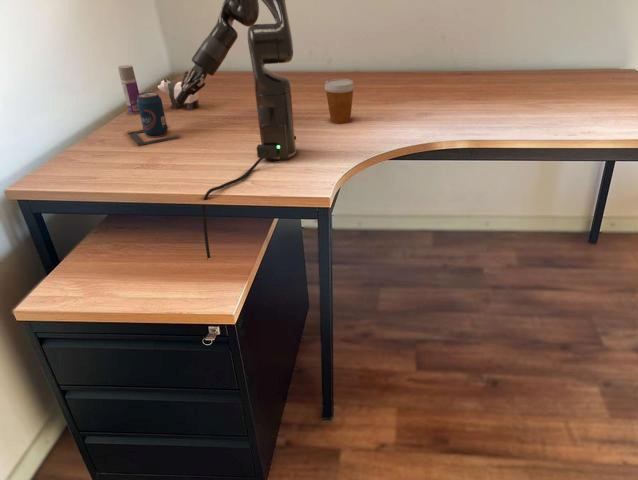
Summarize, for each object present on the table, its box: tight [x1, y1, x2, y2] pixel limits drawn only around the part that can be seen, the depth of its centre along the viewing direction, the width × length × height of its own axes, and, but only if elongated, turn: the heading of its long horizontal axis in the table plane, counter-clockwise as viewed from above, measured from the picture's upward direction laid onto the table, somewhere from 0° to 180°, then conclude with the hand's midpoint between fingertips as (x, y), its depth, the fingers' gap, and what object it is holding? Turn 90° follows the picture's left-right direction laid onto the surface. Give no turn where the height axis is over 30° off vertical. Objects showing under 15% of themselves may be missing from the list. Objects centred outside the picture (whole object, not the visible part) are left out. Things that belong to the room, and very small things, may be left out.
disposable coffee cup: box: [323, 78, 355, 124], centre depth 173 cm, size 10×10×12 cm
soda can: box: [137, 91, 168, 138], centre depth 164 cm, size 7×7×12 cm
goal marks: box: [127, 126, 180, 147], centre depth 166 cm, size 12×14×1 cm
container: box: [117, 64, 140, 115], centre depth 183 cm, size 5×5×15 cm
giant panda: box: [157, 77, 199, 111], centre depth 189 cm, size 15×6×10 cm, turn 72°
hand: (178, 102), depth 166 cm, fingers closed
